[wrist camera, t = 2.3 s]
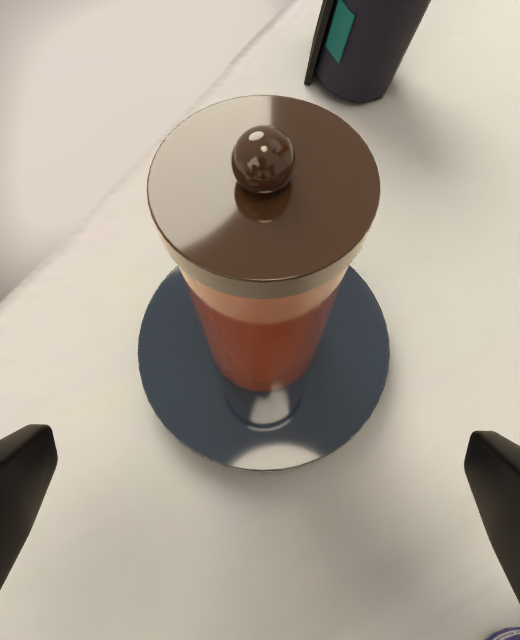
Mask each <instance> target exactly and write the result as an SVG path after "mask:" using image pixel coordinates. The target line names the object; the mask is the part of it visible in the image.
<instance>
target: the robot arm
mask: <svg viewBox="0 0 520 640" xmlns="http://www.w3.org/2000/svg"><path fill="white" fill-rule="evenodd" d="M57 460H58V456H57V450H56V446H55V441H54V437H53V432H52V429H51V427H50V426H48V425H42V424H31V425H27V426H25V427H23V428H21V429H20V430H18V431H16V432H14V433H12V434H10V435H8V436H6V437H5V438H3V439H1V440H0V589H1V588H2V586H3V584H4V582H5V580H6V578H7V576H8V574H9V572H10V570H11V568H12V566H13V565H14V563H15V561H16V559H17V557H18V555H19V553H20V551H21V549H22V547H23V545H24V543H25V541H26V539H27V537H28V535H29V533H30V531H31V528H32V526H33V524H34V521H35V519H36V516H37V514H38V511H39V509H40V506H41V504H42V501H43V499H44V496H45V494H46V491H47V489H48V486H49V484H50V481H51V479H52V476H53V474H54V471H55V469H56V466H57ZM464 469H465V474H466V477H467V479H468V482H469V485H470V488H471V490H472V493H473V496H474V499H475V502H476V504H477V507H478V510H479V513H480V516H481V518H482V521H483V524H484V527H485V529H486V532H487V535H488V537H489V540H490V542H491V544H492V547H493V549H494V551H495V553H496V555H497V558H498V560H499V562H500V564H501V566H502V568H503V570H504V572H505V574H506V576H507V578H508V580H509V583H510V585H511V587H512V589H513V591H514V593H515V595H516V597H517V599H518V601H519V603H520V446H519V445H517V444H515V443H513V442H512V441H510V440H508V439H506V438H505V437H503V436H501V435H500V434H498V433H496V432H494V431H474V432H473V433H472V434H471V436H470V440H469V444H468V448H467V452H466V456H465V461H464Z"/></svg>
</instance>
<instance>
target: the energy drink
mask: <svg viewBox="0 0 520 640" xmlns="http://www.w3.org/2000/svg"><path fill="white" fill-rule="evenodd" d="M485 640H520V627H514V628H505V629H503V630H500V631H497V632H495V633H493V634H492V635H490V636H489V637H487V638H486V639H485Z"/></svg>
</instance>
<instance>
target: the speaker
mask: <svg viewBox="0 0 520 640" xmlns="http://www.w3.org/2000/svg"><path fill="white" fill-rule="evenodd" d="M430 1H431V0H323V3H322V7H321V11H320V14H319V18H318V22H317V26H316V30H315V33H314V37H313V42H312V47H311V52H310V57H309V62H308V67H307V72H306V77H305V82H304V84H306V85H310V82H311V78H312V75H313V71H314V68H315V72H316V73H317V75H318V76H319V78H320V79H321V81H322V83H323V84H324V86H325V87H326V89H328V90H330V91H331V92H333V93H335V94H337V95H339V96H341V97H343V98H345V99H347V100H348V101H354V102H365V101H369V100H373V99H377V98H381V97H382V96H383V94H384V93H385V91H386V89H387V88H388V86H389V85H390V83H391V81H392V79H393V77H394V75H395V73H396V71H397V69H398V67H399V65H400V63H401V61H402V58H403V56H404V54H405V52H406V50H407V48H408V46H409V44H410V42H411V40H412V38H413V36H414V34H415V32H416V30H417V28H418V26H419V24H420V22H421V20H422V18H423V16H424V14H425V12H426V9H427V7H428V5H429V3H430Z"/></svg>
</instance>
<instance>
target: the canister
mask: <svg viewBox="0 0 520 640" xmlns="http://www.w3.org/2000/svg"><path fill="white" fill-rule="evenodd" d="M147 198H148V205H149V209H150V213H151V216H152V219H153V221H154V224H155V226H156V229H157V231H158V234H159V236H160V238H161V241H162V243H163V245H164V247H165V249H166V250H167V252H168V253H169V255H170V256H171V258H172V259H173V260H174V261H175V262H176V263H177V264H178V266H179V269H180V271H181V274H182V277H183V280H184V282H185V285H186V288H187V290H188V293H189V296H190V299H191V301H192V304H193V307H194V309H195V312H196V315H197V318H198V320H199V323H200V326H201V328H202V331H203V334H204V337H205V339H206V342H207V345H208V347H209V350H210V353H211V356H212V358H213V360H214V362H215V364H216V366H217V368H218V369H219V371H220V372H221V373H222V374H223V375H224V376H225V377H226V378H227V379H228V380H230V381H231V382H233V383H234V384H236V385H238V386H240V387H242V388H245V389H248V390H252V391H259V392H268V391H275V390H279V389H282V388H285V387H287V386H289V385H291V384H293V383H294V382H296V381H298V380H299V379H300V378H301V377H302V376H303V375H304V374H305V373H306V372H307V371H308V369H309V368H310V366H311V365H312V362H313V360H314V358H315V355H316V353H317V350H318V347H319V345H320V342H321V339H322V336H323V334H324V331H325V328H326V326H327V323H328V320H329V317H330V315H331V312H332V309H333V306H334V304H335V301H336V298H337V296H338V293H339V290H340V287H341V285H342V282H343V279H344V277H345V274H346V271H347V268H348V266H349V264H350V263H351V262H352V261H353V260H354V259H355V257H356V256H357V254H358V253H359V251H360V250H361V248H362V247H363V245H364V242H365V240H366V238H367V236H368V234H369V231H370V229H371V226H372V224H373V221H374V219H375V216H376V212H377V209H378V206H379V199H380V178H379V173H378V169H377V165H376V163H375V160H374V157H373V155H372V153H371V151H370V149H369V148H368V146H367V144H366V143H365V142H364V140H363V139H362V138H361V136H360V135H359V134H358V133H357V132H356V131H355V130H354V129H353V128H352V127H351V126H350V125H349V124H348V123H346V122H345V121H344V120H342V119H341V118H340V117H338V116H337V115H335V114H333V113H332V112H330V111H328V110H326V109H324V108H322V107H320V106H318V105H315V104H312V103H309V102H306V101H303V100H299V99H295V98H291V97H284V96H275V95H253V96H244V97H237V98H233V99H229V100H225V101H221V102H219V103H216V104H213V105H210V106H208V107H206V108H204V109H202V110H200V111H198V112H196V113H195V114H193V115H191V116H190V117H188V118H187V119H185V120H184V121H183V122H181V123H180V124H179V125H178V126H177V127H176V128H175V129H174V130H173V131H172V132H171V133H170V134H169V135H168V136H167V137H166V138H165V140H164V141H163V142H162V144H161V145H160V147H159V149H158V150H157V152H156V154H155V156H154V158H153V161H152V163H151V166H150V170H149V175H148V179H147Z"/></svg>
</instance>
